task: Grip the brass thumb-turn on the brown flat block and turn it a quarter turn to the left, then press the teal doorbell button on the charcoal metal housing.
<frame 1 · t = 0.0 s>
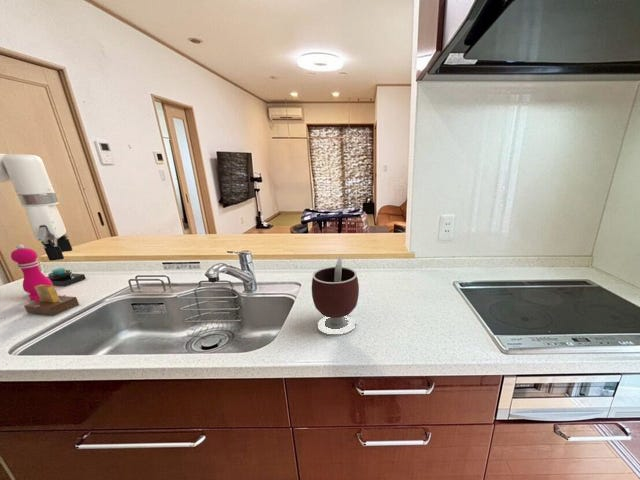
hand: (61, 255, 93), 19 cm above the worktop, tool pointing down, fingers open, 9 cm apart
mate gourd: (337, 324, 93), on the worktop
brown flat block: (54, 309, 100), on the worktop
doorbell: (63, 281, 121), on the worktop
lock turn: (47, 293, 97), point 6 cm above the worktop, hinge at 0.0°
bell button: (59, 271, 119), point 4 cm above the worktop, slide at 0.1 cm
pepper mill: (43, 297, 108), on the worktop
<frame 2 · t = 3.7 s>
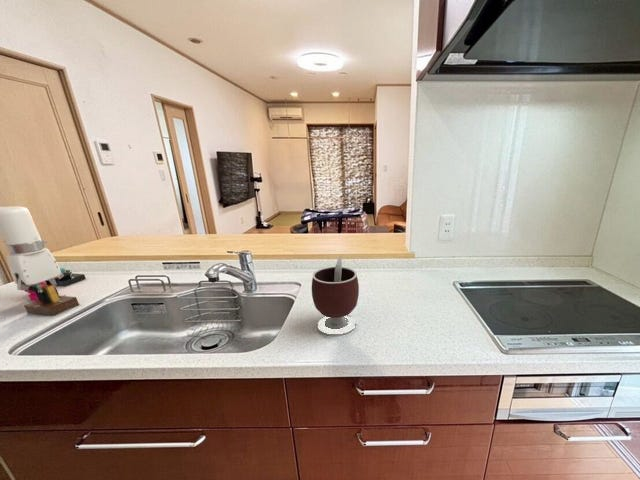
hand: (50, 299, 98), 3 cm above the worktop, tool pointing down, fingers closed on lock turn, 2 cm apart
lock turn: (47, 293, 97), point 6 cm above the worktop, hinge at 0.0°, touching gripper
everything else where it was.
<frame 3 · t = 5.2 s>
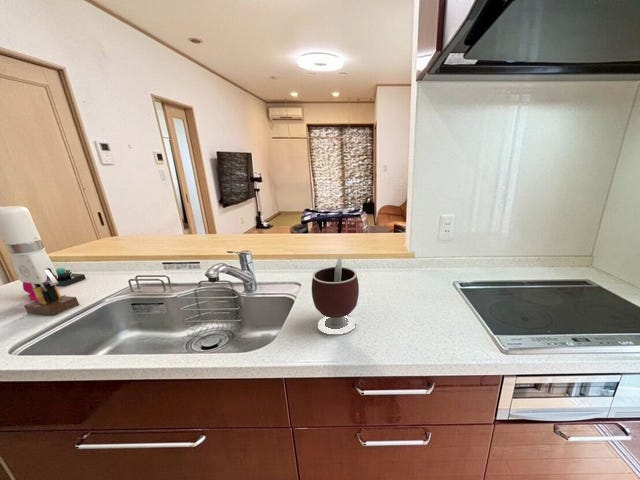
hand: (50, 299, 98), 3 cm above the worktop, tool pointing down, fingers closed on lock turn, 2 cm apart
lock turn: (47, 293, 97), point 6 cm above the worktop, hinge at 86.1°, touching gripper
everything else where it was.
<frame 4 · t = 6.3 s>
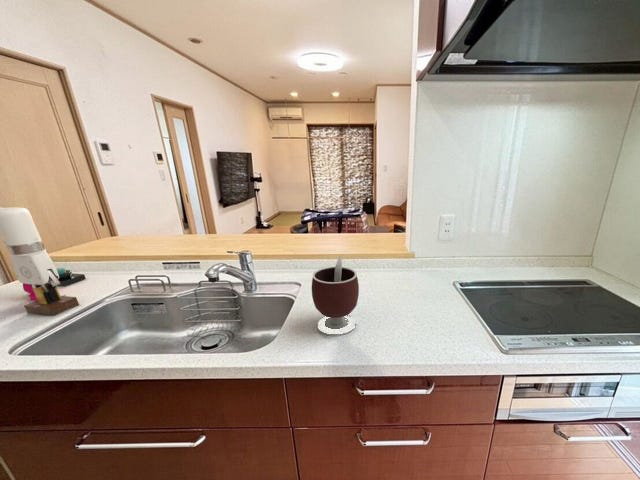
hand: (50, 300, 99), 3 cm above the worktop, tool pointing down, fingers closed on lock turn, 2 cm apart
lock turn: (47, 293, 97), point 6 cm above the worktop, hinge at 89.9°, touching gripper
everything else where it was.
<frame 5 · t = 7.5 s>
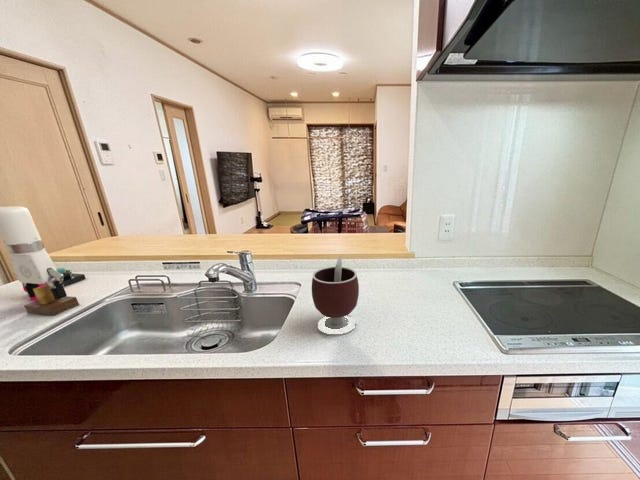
hand: (48, 296, 98), 5 cm above the worktop, tool pointing down, fingers open, 9 cm apart
lock turn: (47, 293, 97), point 6 cm above the worktop, hinge at 89.9°
everything else where it was.
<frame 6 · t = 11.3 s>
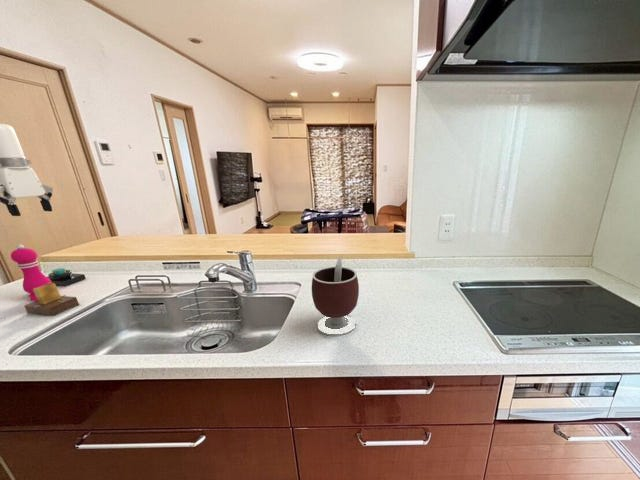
hand: (33, 213, 108), 28 cm above the worktop, tool pointing down, fingers open, 9 cm apart
nothing on the worktop moved.
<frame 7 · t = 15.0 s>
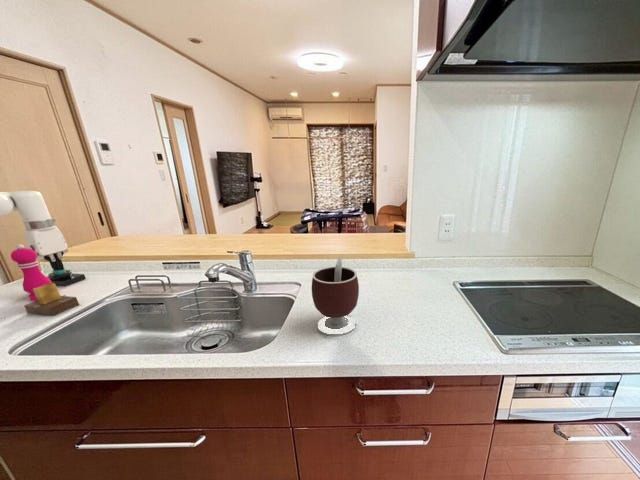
hand: (59, 269, 119), 5 cm above the worktop, tool pointing down, fingers closed
bell button: (59, 271, 119), point 4 cm above the worktop, slide at 0.1 cm, touching gripper
everything else where it was.
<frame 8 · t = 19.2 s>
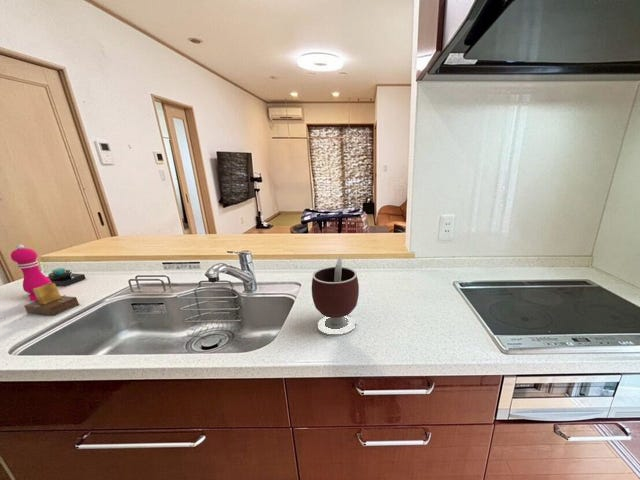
bell button: (59, 271, 119), point 4 cm above the worktop, slide at 0.1 cm
everything else where it was.
at the end: lock turn at +90° (first picture: +0°); bell button pushed in 1.1 cm at the most during the clip, back to where it started at the end; bell button slide at 0.1 cm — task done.
